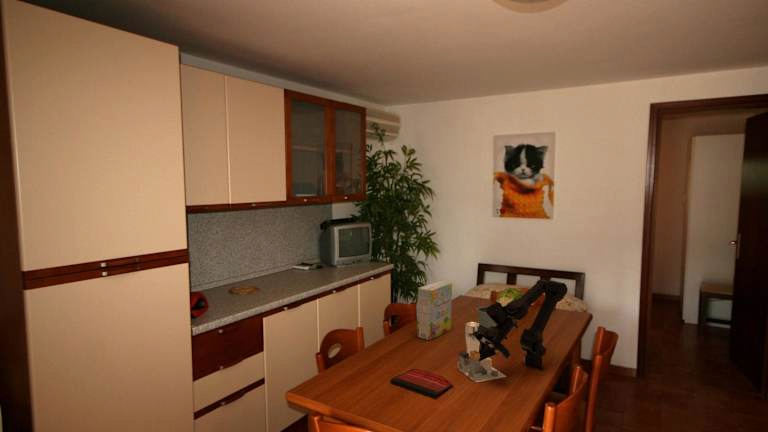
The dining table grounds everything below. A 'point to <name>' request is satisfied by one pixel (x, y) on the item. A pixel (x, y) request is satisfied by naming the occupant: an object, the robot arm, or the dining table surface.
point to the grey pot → (485, 318)
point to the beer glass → (471, 337)
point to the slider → (486, 363)
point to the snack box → (434, 310)
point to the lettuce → (509, 296)
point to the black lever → (463, 358)
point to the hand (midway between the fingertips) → (477, 360)
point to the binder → (422, 382)
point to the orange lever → (474, 362)
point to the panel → (481, 373)
